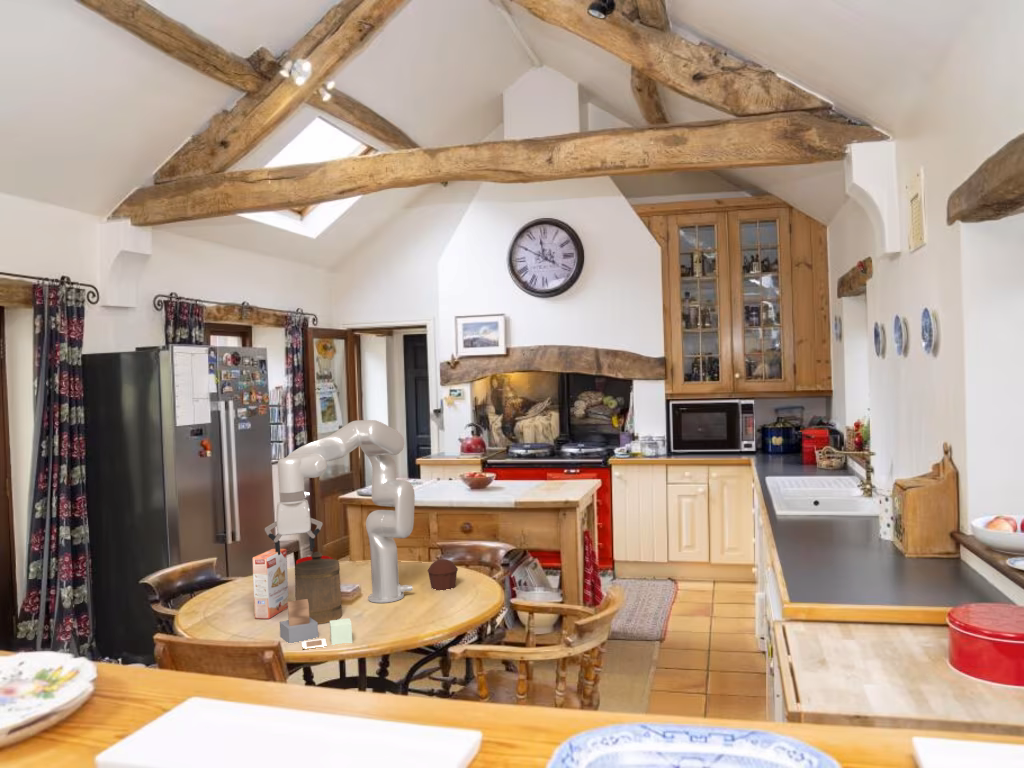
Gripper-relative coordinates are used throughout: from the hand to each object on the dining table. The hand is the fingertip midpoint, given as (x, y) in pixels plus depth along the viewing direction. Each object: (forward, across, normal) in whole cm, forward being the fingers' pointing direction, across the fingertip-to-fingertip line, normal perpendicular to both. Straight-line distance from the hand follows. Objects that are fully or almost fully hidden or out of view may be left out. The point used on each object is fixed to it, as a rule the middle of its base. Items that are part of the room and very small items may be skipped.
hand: (295, 552), depth 244 cm
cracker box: (+27, +8, -31) cm, 41 cm away
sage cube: (+26, -12, +10) cm, 31 cm away
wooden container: (+27, -7, -18) cm, 33 cm away
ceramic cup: (+27, -9, -64) cm, 70 cm away
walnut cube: (+22, 0, 0) cm, 22 cm away
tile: (+26, -4, +10) cm, 28 cm away
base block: (+27, 0, 0) cm, 27 cm away
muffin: (+27, -53, -36) cm, 69 cm away
